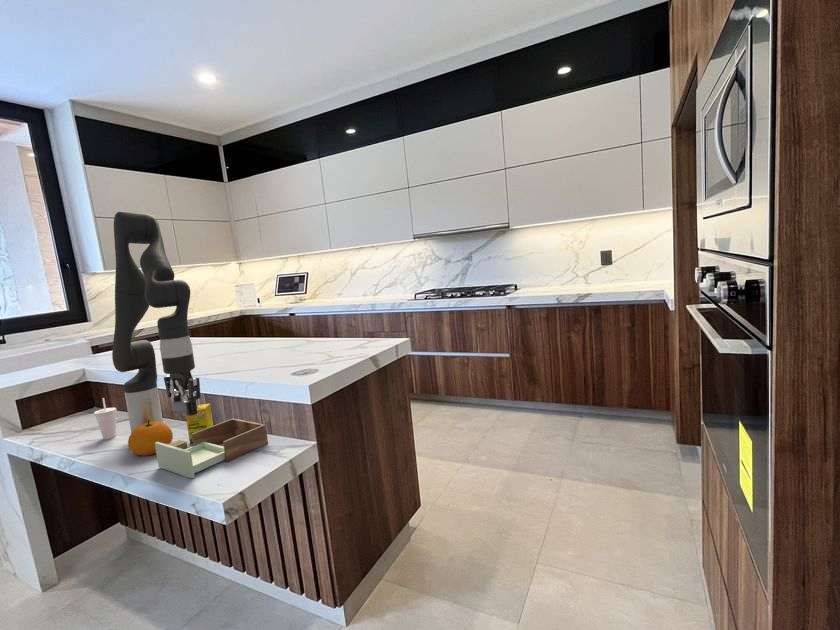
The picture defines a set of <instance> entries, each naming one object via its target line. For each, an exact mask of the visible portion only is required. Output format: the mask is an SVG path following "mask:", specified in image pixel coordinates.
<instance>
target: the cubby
mask: <svg viewBox="0 0 840 630" xmlns="http://www.w3.org/2000/svg"><path fill="white" fill-rule="evenodd" d="M267 431H268V430H267V426H266V423H265V424H263V423H259V422H254V421H249V420H243V419H237V418H229V419H227V420H225V421H224V420H223V421H222V422H219V423H217V424H213V426H211V427H208V428H206V429H203V430H201V431H198V432H195V433H193V434H192V439H193V443H192V444H193V446H195V445H197V444H200V443H202V442H207V443H211V444H215V445H219V446H223V447H224V452H225V459H224V460H222V461H221V462H224V463H230V462H231V461H232V462H233V461H234V460H236V459H239V458H241V457H242V456H244V455H247V454H249V453H251V452H253V451H256V450H258V449H259V448H261V447H264V446H266V445H269V440H268V433H267Z"/></svg>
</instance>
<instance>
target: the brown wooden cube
mask: <svg viewBox="0 0 840 630" xmlns="http://www.w3.org/2000/svg"><path fill="white" fill-rule="evenodd" d="M167 445H170V446H174V447H177V448H181V449H184V450H185V449H187V448H189V447H188V443H187V441H185V440H181V439H178V440H176V441H171V443H170V444H167Z"/></svg>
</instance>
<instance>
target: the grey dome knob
mask: <svg viewBox="0 0 840 630" xmlns="http://www.w3.org/2000/svg"><path fill="white" fill-rule="evenodd" d="M186 403H187V402H186V400H185V398H182V399H181V400H178V401H175V402H174V401H172V403H171V406H172V412H173V413H174V414H184V413H185V414H186V412H188V411H187V404H186ZM198 405H199V404H198V399H197V400H196V406H197V408H198Z"/></svg>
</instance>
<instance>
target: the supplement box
mask: <svg viewBox="0 0 840 630" xmlns="http://www.w3.org/2000/svg"><path fill="white" fill-rule="evenodd" d="M185 418H186V426H187V431H188V432H187V434H188V438H189V439H188V440H189V444H193V439H192V434H193V433H195V432H198V431H201V430H203V429H206V428H208V427H211V426H214V423H213V420H214V419H213V415H212V406H211V403H203V404H198V408H197V414H195V415H192V416H189V415H188V412H185Z"/></svg>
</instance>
